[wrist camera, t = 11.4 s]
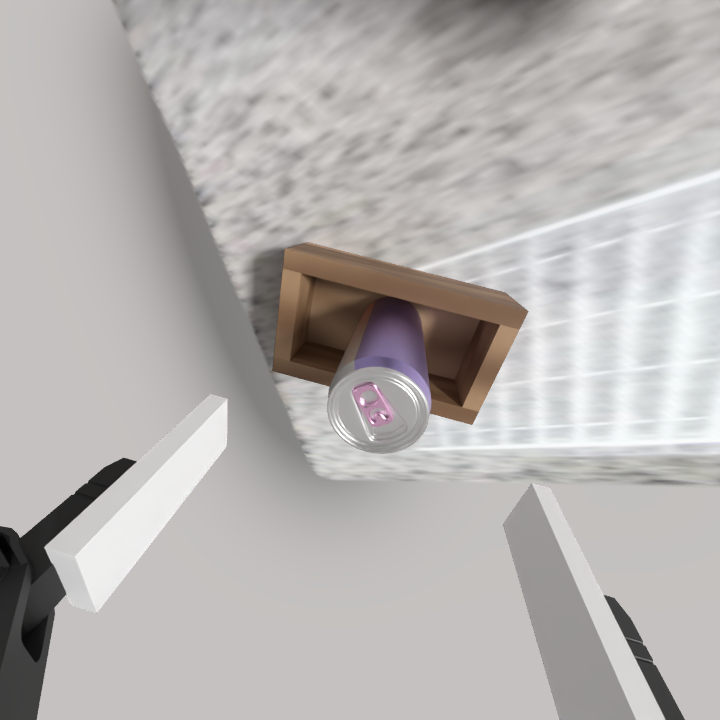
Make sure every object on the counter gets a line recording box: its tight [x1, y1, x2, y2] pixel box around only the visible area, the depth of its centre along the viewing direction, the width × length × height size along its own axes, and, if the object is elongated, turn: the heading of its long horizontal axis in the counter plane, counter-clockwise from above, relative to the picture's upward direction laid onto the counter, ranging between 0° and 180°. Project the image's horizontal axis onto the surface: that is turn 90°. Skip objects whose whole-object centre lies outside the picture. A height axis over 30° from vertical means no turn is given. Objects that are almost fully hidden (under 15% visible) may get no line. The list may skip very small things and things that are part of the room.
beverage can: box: [327, 297, 431, 454], centre depth 23 cm, size 6×6×15 cm
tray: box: [272, 242, 528, 425], centre depth 28 cm, size 11×19×6 cm, turn 77°
